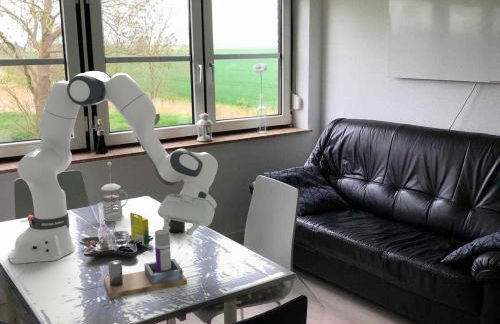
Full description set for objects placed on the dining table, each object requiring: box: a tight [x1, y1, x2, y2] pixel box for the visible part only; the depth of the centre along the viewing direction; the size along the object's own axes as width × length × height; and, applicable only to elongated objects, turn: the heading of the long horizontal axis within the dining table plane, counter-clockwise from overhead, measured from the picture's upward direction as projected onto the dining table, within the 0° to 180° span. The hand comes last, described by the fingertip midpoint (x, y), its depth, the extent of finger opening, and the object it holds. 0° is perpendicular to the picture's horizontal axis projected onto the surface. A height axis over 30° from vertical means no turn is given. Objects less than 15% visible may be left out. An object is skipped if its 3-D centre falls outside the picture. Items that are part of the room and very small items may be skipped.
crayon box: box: [129, 212, 150, 246], centre depth 204 cm, size 7×3×12 cm, turn 50°
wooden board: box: [103, 258, 188, 299], centre depth 170 cm, size 24×12×4 cm, turn 113°
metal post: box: [107, 259, 124, 287], centre depth 166 cm, size 4×4×7 cm
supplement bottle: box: [168, 220, 186, 235], centre depth 215 cm, size 7×7×12 cm
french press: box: [101, 161, 128, 222], centre depth 231 cm, size 10×12×25 cm
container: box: [154, 228, 172, 273], centre depth 171 cm, size 5×5×15 cm
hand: (176, 232), depth 176 cm, fingers open, 8 cm apart
